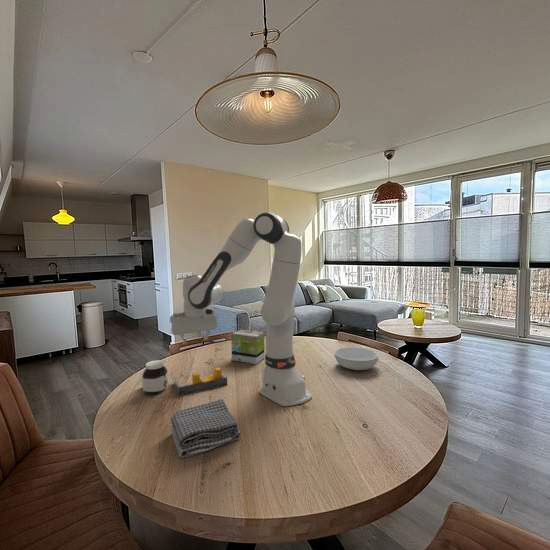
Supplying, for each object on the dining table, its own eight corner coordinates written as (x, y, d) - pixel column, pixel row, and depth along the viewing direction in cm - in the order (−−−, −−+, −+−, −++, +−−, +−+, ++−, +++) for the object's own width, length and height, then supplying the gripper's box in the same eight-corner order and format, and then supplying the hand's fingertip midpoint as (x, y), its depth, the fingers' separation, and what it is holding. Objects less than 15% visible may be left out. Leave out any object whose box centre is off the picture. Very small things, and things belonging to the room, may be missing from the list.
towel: (169, 434, 93) (168, 409, 92) (225, 418, 102) (225, 395, 101) (179, 463, 80) (178, 435, 79) (243, 442, 88) (242, 416, 88)
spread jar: (157, 397, 117) (155, 368, 116) (131, 394, 119) (130, 366, 118) (173, 384, 128) (172, 357, 128) (149, 382, 131) (148, 356, 130)
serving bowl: (387, 368, 143) (387, 354, 143) (358, 379, 132) (358, 364, 131) (353, 356, 160) (353, 344, 160) (325, 365, 149) (325, 351, 148)
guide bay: (227, 384, 127) (227, 377, 127) (179, 395, 118) (178, 388, 118) (218, 374, 139) (217, 368, 138) (173, 383, 129) (173, 376, 129)
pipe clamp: (217, 380, 132) (217, 366, 132) (221, 383, 129) (221, 369, 128) (191, 387, 125) (190, 372, 125) (195, 391, 122) (194, 376, 121)
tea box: (231, 361, 156) (230, 333, 155) (240, 355, 165) (240, 329, 164) (256, 364, 150) (256, 336, 149) (265, 358, 160) (264, 331, 159)
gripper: (171, 315, 125) (172, 347, 126) (218, 309, 135) (219, 339, 136) (168, 313, 131) (170, 343, 132) (213, 307, 140) (215, 336, 141)
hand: (195, 341), depth 134 cm, fingers open, 8 cm apart
